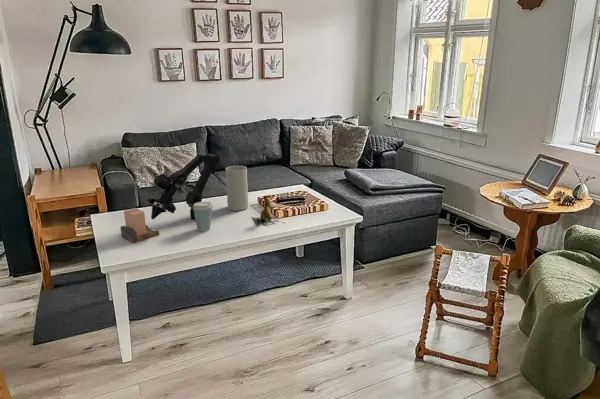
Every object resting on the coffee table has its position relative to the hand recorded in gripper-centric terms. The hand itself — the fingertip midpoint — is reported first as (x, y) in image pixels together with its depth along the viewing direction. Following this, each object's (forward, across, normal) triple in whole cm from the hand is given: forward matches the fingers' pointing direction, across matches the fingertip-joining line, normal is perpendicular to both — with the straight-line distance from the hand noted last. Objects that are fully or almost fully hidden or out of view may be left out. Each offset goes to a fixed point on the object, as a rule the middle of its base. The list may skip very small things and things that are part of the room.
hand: (152, 219), depth 237 cm
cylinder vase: (-33, -5, -45) cm, 56 cm away
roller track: (+10, 0, 0) cm, 11 cm away
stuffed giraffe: (-31, -33, -43) cm, 63 cm away
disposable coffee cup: (-8, -18, -19) cm, 28 cm away
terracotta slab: (+10, 0, +3) cm, 11 cm away
